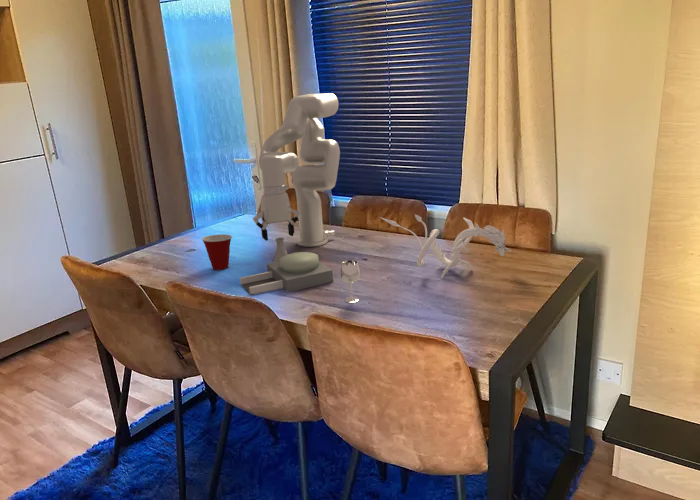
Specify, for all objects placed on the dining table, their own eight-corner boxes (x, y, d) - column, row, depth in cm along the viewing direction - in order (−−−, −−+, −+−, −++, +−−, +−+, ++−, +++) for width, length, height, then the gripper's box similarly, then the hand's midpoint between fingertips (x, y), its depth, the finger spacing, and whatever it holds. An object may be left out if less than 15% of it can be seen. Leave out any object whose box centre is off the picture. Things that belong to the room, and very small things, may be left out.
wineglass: (341, 297, 178) (339, 260, 175) (360, 295, 179) (358, 258, 175) (343, 304, 173) (340, 266, 169) (362, 302, 173) (360, 264, 169)
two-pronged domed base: (309, 265, 209) (308, 246, 207) (333, 281, 192) (331, 261, 190) (237, 281, 198) (234, 261, 196) (254, 299, 181) (252, 278, 179)
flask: (288, 268, 208) (286, 241, 205) (269, 268, 209) (266, 241, 206) (294, 261, 215) (292, 235, 212) (276, 261, 216) (273, 235, 213)
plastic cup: (241, 263, 216) (237, 232, 213) (226, 273, 207) (222, 241, 203) (216, 262, 220) (211, 231, 216) (200, 271, 210) (195, 240, 207)
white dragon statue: (367, 272, 195) (370, 205, 182) (390, 244, 211) (394, 181, 198) (494, 307, 179) (507, 237, 166) (509, 275, 195) (522, 208, 182)
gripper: (293, 186, 210) (297, 231, 215) (247, 192, 203) (252, 239, 208) (301, 188, 204) (304, 236, 208) (253, 195, 197) (258, 243, 201)
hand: (278, 237), depth 208 cm, fingers open, 9 cm apart
